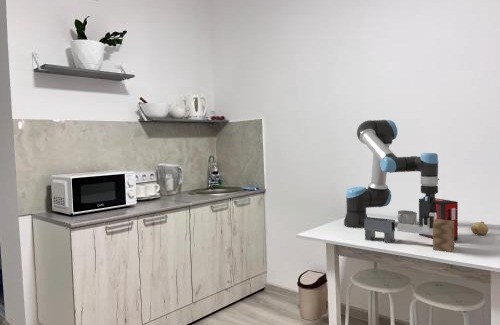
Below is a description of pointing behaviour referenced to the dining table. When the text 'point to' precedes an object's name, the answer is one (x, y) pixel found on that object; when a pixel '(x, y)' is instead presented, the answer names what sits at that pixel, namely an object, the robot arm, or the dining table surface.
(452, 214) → the cleaning product box
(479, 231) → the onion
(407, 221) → the teacup
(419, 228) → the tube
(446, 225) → the socket block
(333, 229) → the dining table surface
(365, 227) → the grey arched bench
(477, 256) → the dining table surface
